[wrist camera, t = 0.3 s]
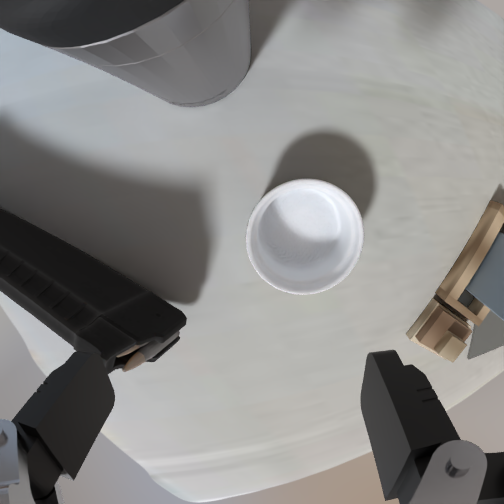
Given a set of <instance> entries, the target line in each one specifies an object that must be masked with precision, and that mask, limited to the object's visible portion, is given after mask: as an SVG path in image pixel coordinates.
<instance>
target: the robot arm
mask: <svg viewBox="0 0 504 504" xmlns="http://www.w3.org/2000/svg"><path fill="white" fill-rule="evenodd" d="M0 28H2V29H4V30H5V31H7V32H9V33H12V34H14V35H17V36H19V37H22V38H25V39H27V40H30V41H33V42H35V43H38V44H41V45H43V46H45V47H48V48H50V49H53V50H56V51H58V52H60V53H63V54H65V55H68V56H70V57H73V58H75V59H77V60H80V61H83V62H85V63H87V64H89V65H92V66H94V67H96V68H98V69H101V70H103V71H105V72H107V73H109V74H112V75H114V76H116V77H118V78H120V79H122V80H124V81H126V82H128V83H130V84H133V85H135V86H137V87H139V88H141V89H143V90H145V91H147V92H149V93H151V94H153V95H155V96H157V97H159V98H161V99H163V100H165V101H167V102H169V103H171V104H174V105H178V106H183V107H197V106H205V105H208V104H211V103H214V102H216V101H218V100H220V99H222V98H224V97H226V96H227V95H228V94H230V93H231V92H232V91H233V90H235V89H236V87H237V86H238V85H239V84H240V83H241V81H242V80H243V78H244V77H245V75H246V73H247V71H248V68H249V64H250V61H251V37H250V16H249V0H0ZM114 402H115V394H114V389H113V387H112V384H111V382H110V379H109V377H108V374H107V371H106V369H105V366H104V363H103V360H102V358H101V356H100V355H99V354H97V353H91V352H82V351H76V352H74V353H73V354H72V355H71V357H70V358H69V359H68V360H67V361H66V362H65V364H63V365H62V366H60V367H59V368H57V369H56V370H54V371H53V372H51V374H50V375H49V376H48V377H47V378H46V380H45V381H44V384H41V385H40V387H39V388H38V389H37V392H35V393H34V394H33V395H32V397H31V398H30V399H29V400H28V401H27V403H26V404H25V405H24V406H23V408H22V409H21V410H20V411H19V412H18V414H17V415H16V416H15V417H14V419H13V420H12V421H9V420H5V419H0V504H65V503H64V500H63V495H62V491H61V487H60V485H59V483H58V482H57V480H58V478H59V476H62V477H65V478H68V479H71V480H73V481H74V479H75V477H76V475H77V473H78V471H79V470H80V468H81V466H82V464H83V462H84V460H85V458H86V456H87V454H88V452H89V451H90V449H91V447H92V445H93V443H94V441H95V439H96V437H97V436H98V434H99V432H100V430H101V428H102V427H103V425H104V423H105V421H106V419H107V417H108V416H109V414H110V412H111V410H112V408H113V406H114ZM361 410H362V414H363V418H364V421H365V425H366V428H367V432H368V435H369V439H370V443H371V446H372V450H373V454H374V458H375V461H376V465H377V469H378V473H379V477H380V481H381V485H382V489H383V494H384V498H385V501H386V500H391V499H395V498H398V499H399V503H400V504H504V452H499V453H484V452H483V451H482V450H481V448H479V447H478V446H477V445H475V444H473V443H472V442H469V441H464V440H461V439H460V437H459V436H458V434H457V432H456V430H455V428H454V426H453V424H452V422H451V420H450V418H449V417H448V415H447V413H446V411H445V409H444V407H443V406H442V404H441V402H440V400H438V396H437V395H436V393H435V391H434V389H432V386H431V384H430V382H429V381H428V379H427V377H426V375H425V374H424V373H423V372H421V371H420V370H419V369H417V368H416V367H415V366H413V365H405V366H404V365H403V363H402V361H401V360H400V358H399V356H398V354H397V352H396V351H395V350H387V351H379V352H371V353H369V354H368V355H367V359H366V366H365V372H364V378H363V384H362V390H361Z"/></svg>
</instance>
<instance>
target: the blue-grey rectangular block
mask: <svg viewBox="0 0 504 504" xmlns="http://www.w3.org/2000/svg"><path fill="white" fill-rule="evenodd" d="M465 289H466V290H467V291H468V292H470V293H471V294H472V295H473V296H474V297H476V298H477V299H478V300H479V301H480V302H482V303H483V304H484V305H485V306H487V307H488V308H489V309H490V310H491V311H493V312H494V313H495V314H496V315H497V316H498V317H500V318H501V319H502V320H503V321H504V234H503V233H500V232H498V234H497V236H496V238H495V240H494V242H493V243H492V245H491V247H490V249H489V250H488V252H487V254H486V256H485V257H484V259H483V261H482V262H481V264H480V266H479V267H478V269H477V271H476V272H475V274H474V275H473V277H472V278H471V280H470V282H469V283H468V285H467V286H466V288H465Z"/></svg>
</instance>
